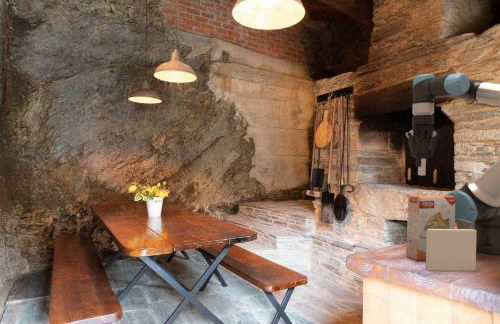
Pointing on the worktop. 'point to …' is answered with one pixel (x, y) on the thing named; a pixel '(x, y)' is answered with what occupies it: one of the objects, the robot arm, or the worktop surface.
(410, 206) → the cracker box
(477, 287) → the worktop surface
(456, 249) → the shelf bookend
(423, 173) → the robot arm
